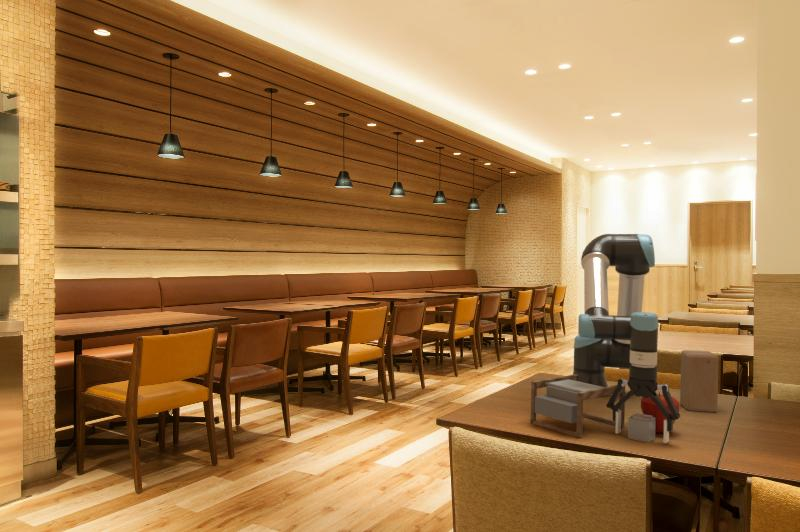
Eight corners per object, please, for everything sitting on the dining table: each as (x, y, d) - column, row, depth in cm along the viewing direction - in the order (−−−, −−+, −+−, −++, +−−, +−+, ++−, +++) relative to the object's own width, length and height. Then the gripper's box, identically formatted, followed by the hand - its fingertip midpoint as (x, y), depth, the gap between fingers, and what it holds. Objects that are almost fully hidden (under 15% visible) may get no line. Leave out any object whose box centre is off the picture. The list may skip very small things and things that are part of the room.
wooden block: (718, 413, 201) (719, 355, 201) (687, 411, 203) (688, 354, 203) (708, 406, 211) (710, 351, 211) (679, 404, 213) (680, 349, 213)
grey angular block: (573, 423, 171) (574, 394, 170) (532, 411, 183) (533, 384, 183) (608, 415, 180) (609, 387, 180) (567, 404, 193) (568, 378, 193)
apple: (659, 438, 171) (660, 397, 171) (631, 428, 181) (632, 389, 181) (687, 434, 175) (688, 394, 175) (658, 425, 185) (659, 387, 185)
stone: (627, 438, 171) (628, 415, 171) (634, 433, 176) (634, 411, 176) (648, 442, 167) (649, 419, 167) (655, 438, 172) (655, 415, 172)
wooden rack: (579, 438, 170) (580, 393, 170) (530, 422, 185) (531, 381, 185) (624, 426, 183) (625, 384, 183) (574, 413, 198) (575, 374, 198)
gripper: (596, 361, 176) (594, 431, 176) (686, 372, 160) (684, 449, 161) (605, 358, 182) (603, 426, 182) (692, 369, 166) (690, 443, 166)
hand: (641, 437), depth 171 cm, fingers open, 13 cm apart
